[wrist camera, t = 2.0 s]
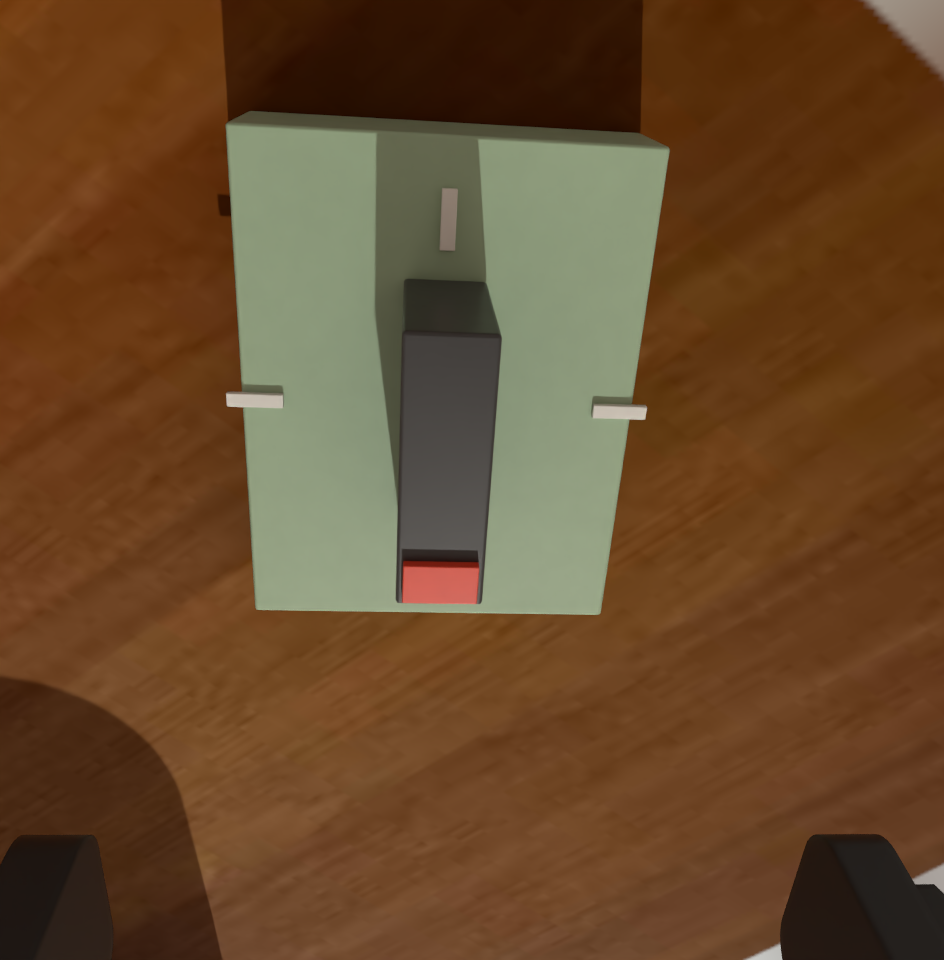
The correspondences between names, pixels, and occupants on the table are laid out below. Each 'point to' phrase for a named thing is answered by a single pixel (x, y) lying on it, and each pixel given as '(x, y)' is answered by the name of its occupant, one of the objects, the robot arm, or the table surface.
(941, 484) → the table surface
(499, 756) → the table surface
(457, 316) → the dark gray bar
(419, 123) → the panel
